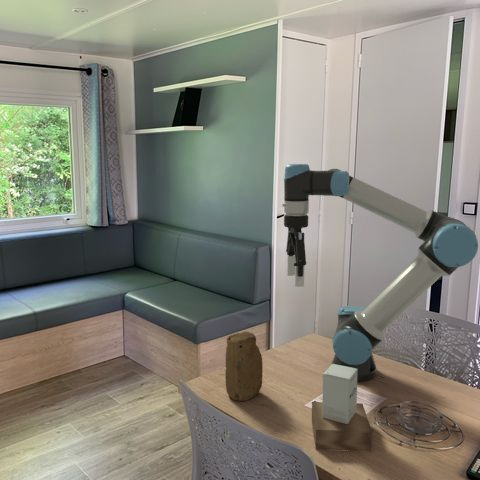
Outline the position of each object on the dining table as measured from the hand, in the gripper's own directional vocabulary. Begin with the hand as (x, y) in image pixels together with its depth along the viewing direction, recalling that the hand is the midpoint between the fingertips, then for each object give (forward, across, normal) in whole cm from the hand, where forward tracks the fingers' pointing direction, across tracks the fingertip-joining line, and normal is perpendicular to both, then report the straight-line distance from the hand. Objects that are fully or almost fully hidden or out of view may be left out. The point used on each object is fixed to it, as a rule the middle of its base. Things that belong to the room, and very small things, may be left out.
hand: (295, 280), depth 155 cm
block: (+35, +7, -17) cm, 39 cm away
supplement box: (+29, +31, +7) cm, 43 cm away
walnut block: (+35, +31, +7) cm, 48 cm away
